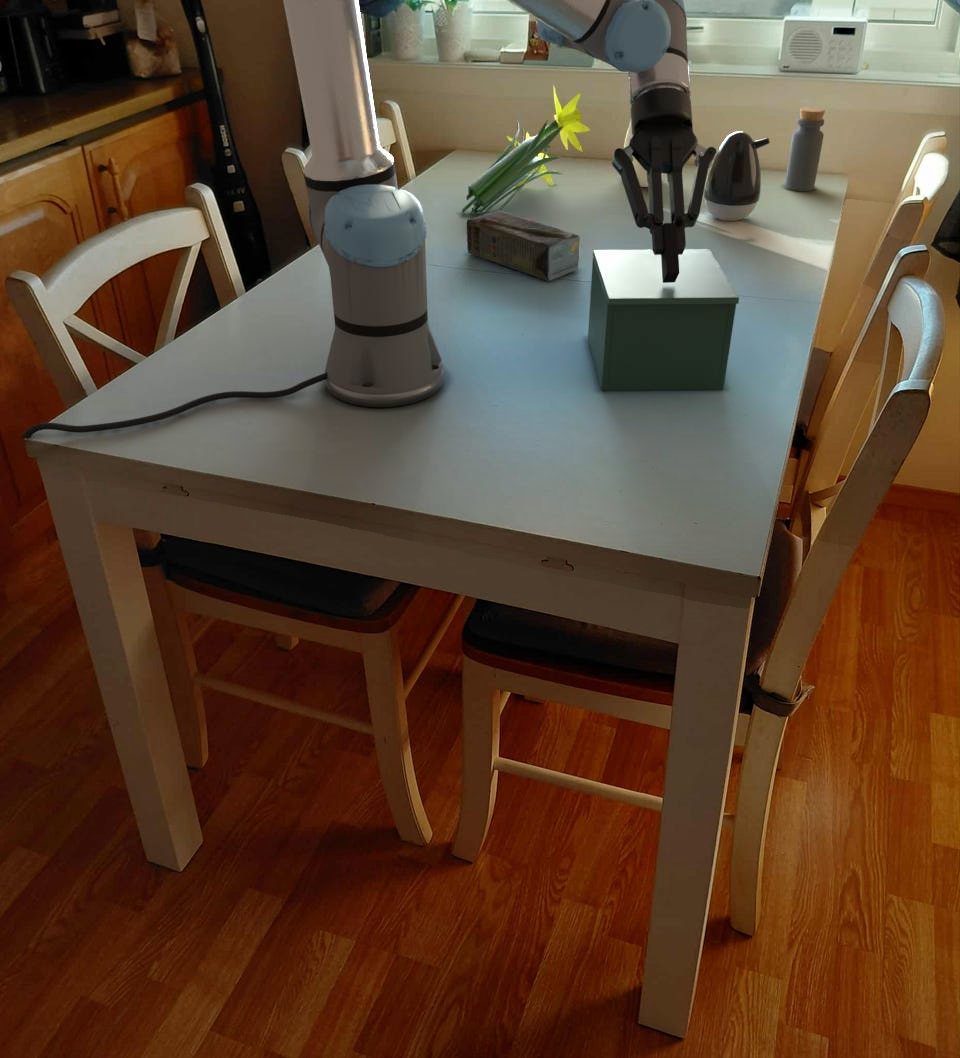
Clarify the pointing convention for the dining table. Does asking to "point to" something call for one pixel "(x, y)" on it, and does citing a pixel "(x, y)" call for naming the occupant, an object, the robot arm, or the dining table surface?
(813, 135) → the bottle
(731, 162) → the pump dispenser
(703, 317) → the bin
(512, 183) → the daffodil flowers
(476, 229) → the beverage carton
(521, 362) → the dining table surface
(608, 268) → the bin lid
